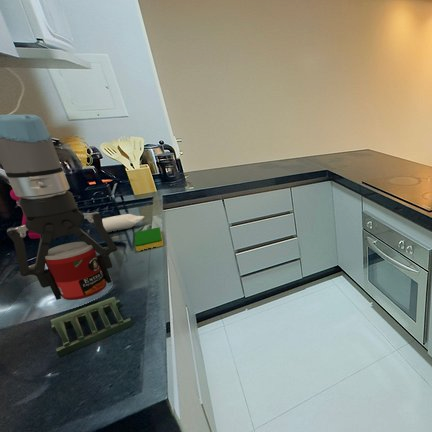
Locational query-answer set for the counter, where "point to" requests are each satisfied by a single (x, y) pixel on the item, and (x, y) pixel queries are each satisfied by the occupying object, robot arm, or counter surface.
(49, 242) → the robot arm
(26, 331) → the counter surface
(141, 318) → the counter surface
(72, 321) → the drying rack
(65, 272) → the canned food
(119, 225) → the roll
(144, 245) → the dish sponge
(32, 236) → the pepper mill
